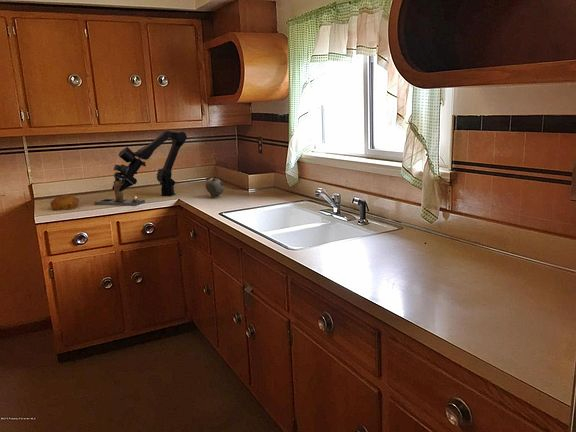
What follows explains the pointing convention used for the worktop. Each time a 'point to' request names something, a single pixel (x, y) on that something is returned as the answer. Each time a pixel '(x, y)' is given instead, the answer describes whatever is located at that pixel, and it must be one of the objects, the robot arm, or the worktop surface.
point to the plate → (125, 202)
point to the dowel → (117, 193)
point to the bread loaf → (64, 202)
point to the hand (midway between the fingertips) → (116, 190)
